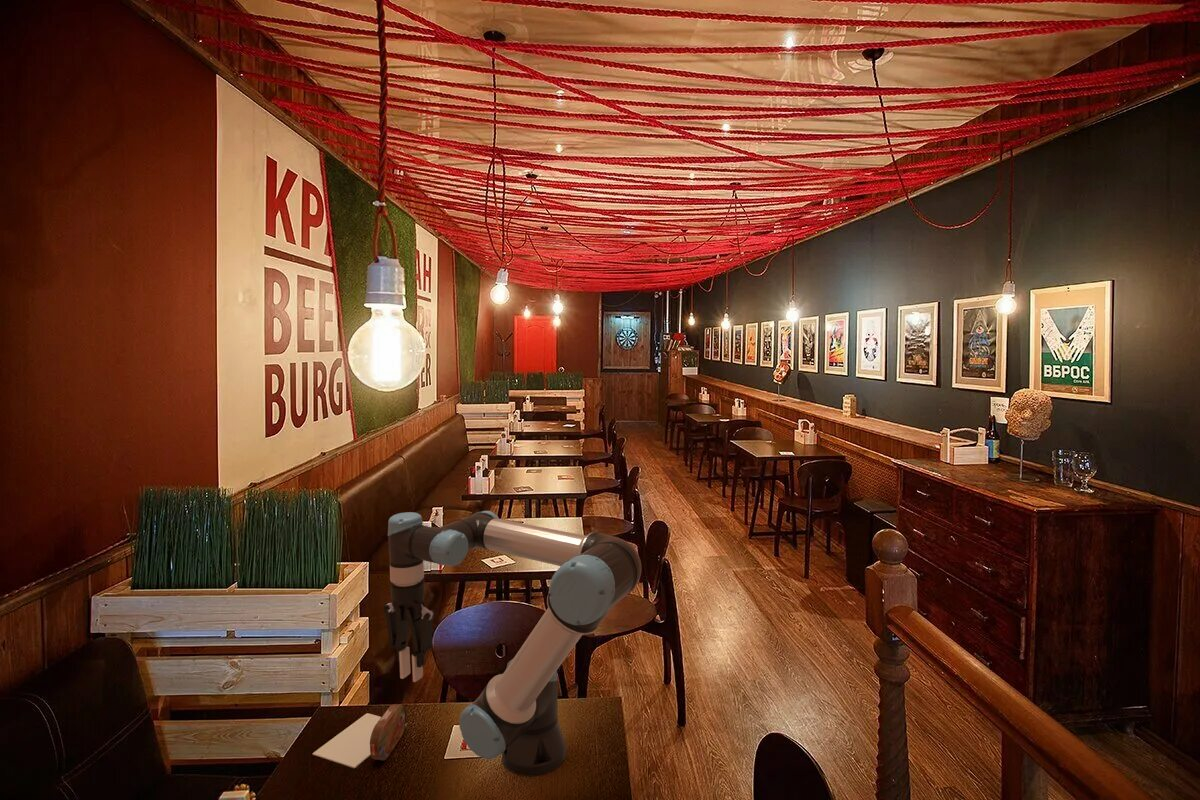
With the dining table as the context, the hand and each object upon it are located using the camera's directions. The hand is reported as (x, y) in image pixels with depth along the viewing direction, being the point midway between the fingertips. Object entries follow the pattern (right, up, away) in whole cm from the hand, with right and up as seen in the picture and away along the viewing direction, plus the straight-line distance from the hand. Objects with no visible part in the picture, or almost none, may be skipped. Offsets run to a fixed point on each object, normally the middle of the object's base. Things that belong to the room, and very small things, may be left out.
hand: (411, 677), depth 153 cm
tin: (-7, -19, +5) cm, 21 cm away
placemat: (-15, -19, +9) cm, 26 cm away
